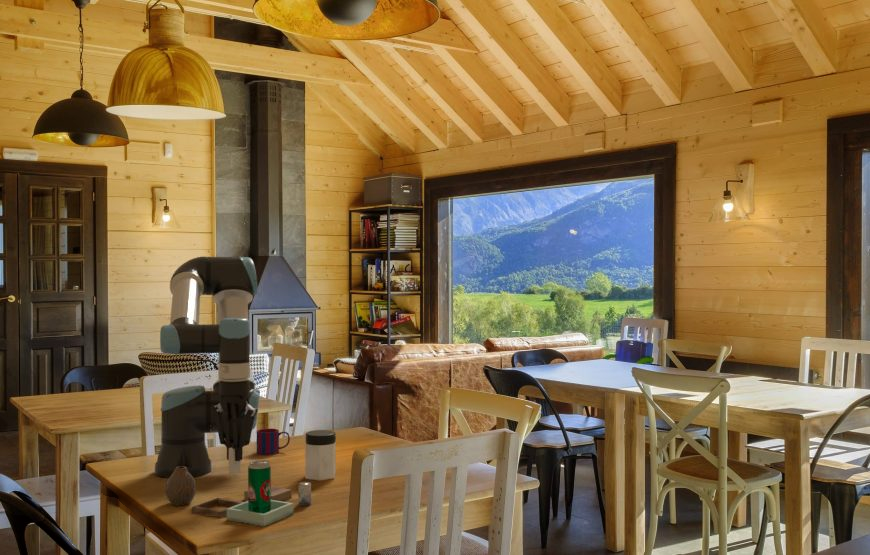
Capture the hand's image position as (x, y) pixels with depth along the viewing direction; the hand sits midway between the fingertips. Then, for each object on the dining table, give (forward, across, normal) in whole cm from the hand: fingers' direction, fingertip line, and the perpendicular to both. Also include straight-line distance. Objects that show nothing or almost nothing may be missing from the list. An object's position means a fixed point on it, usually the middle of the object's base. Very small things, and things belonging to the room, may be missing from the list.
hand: (234, 473), depth 213 cm
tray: (+6, +18, -13) cm, 23 cm away
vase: (+6, -6, -13) cm, 15 cm away
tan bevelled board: (+6, +10, 0) cm, 12 cm away
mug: (+5, -21, +42) cm, 47 cm away
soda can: (+5, +18, -13) cm, 23 cm away
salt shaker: (+5, +21, 0) cm, 22 cm away
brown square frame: (+5, +6, -13) cm, 15 cm away
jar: (+5, +9, +24) cm, 27 cm away
